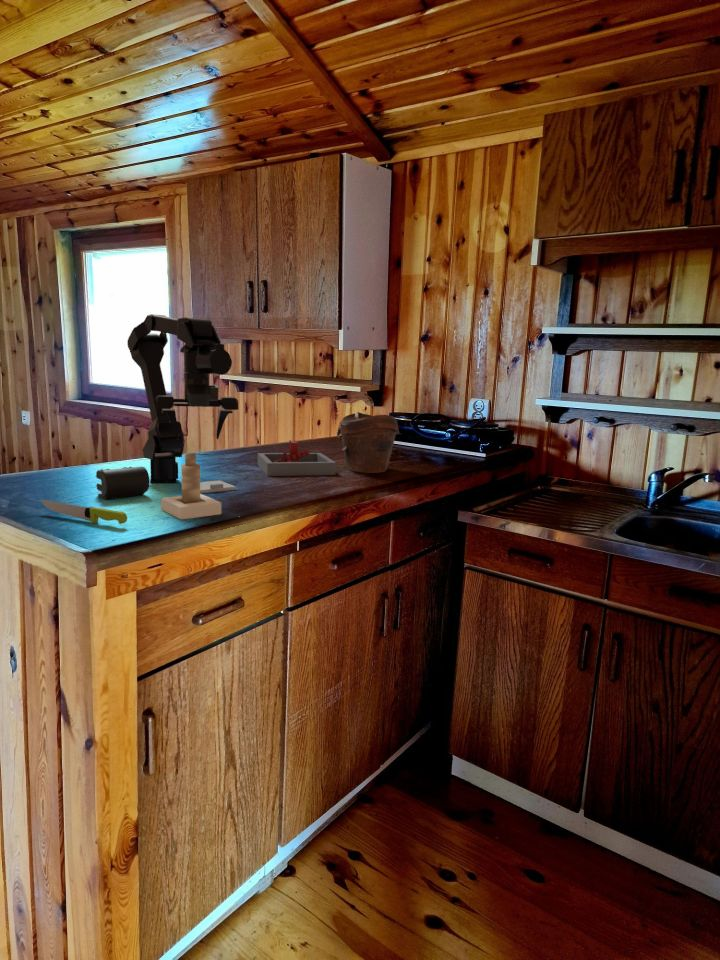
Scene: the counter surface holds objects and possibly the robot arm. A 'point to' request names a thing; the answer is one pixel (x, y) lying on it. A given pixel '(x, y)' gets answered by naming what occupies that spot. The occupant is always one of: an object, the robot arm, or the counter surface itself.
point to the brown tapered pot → (367, 441)
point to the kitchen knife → (86, 512)
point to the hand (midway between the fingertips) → (197, 438)
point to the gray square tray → (296, 465)
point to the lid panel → (215, 486)
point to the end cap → (122, 482)
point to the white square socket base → (190, 507)
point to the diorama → (293, 453)
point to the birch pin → (190, 479)
